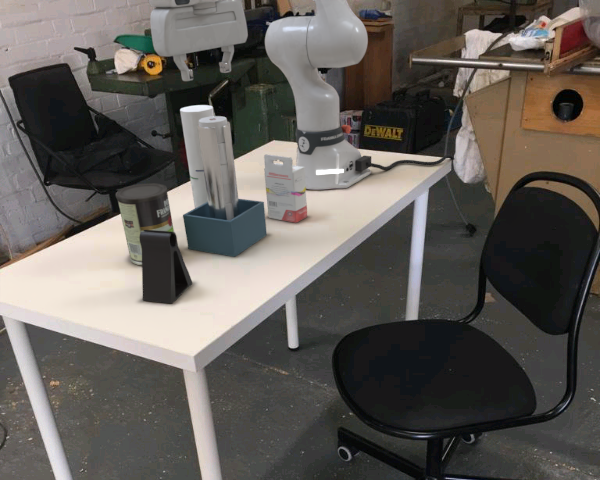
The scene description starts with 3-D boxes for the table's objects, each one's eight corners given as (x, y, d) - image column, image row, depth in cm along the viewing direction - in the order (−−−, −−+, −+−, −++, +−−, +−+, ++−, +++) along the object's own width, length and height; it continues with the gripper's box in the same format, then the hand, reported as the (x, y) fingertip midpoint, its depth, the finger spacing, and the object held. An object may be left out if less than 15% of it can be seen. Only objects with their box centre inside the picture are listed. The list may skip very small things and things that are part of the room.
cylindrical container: (221, 225, 151) (206, 111, 136) (192, 225, 152) (175, 112, 138) (230, 215, 156) (216, 104, 142) (202, 214, 158) (186, 105, 143)
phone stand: (165, 281, 127) (154, 221, 120) (192, 283, 125) (182, 223, 118) (142, 301, 120) (129, 239, 113) (171, 304, 118) (159, 242, 111)
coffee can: (184, 247, 141) (173, 182, 133) (169, 266, 133) (156, 198, 125) (140, 246, 143) (126, 182, 135) (122, 265, 134) (107, 198, 126)
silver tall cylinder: (211, 245, 140) (194, 123, 125) (216, 234, 145) (199, 115, 130) (240, 244, 139) (226, 121, 125) (244, 233, 144) (231, 114, 130)
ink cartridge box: (308, 216, 152) (305, 152, 144) (296, 223, 149) (292, 158, 141) (279, 211, 157) (275, 149, 148) (267, 217, 154) (261, 154, 145)
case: (222, 228, 149) (217, 195, 145) (266, 235, 144) (263, 201, 140) (188, 249, 140) (182, 214, 136) (234, 256, 135) (230, 221, 131)
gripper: (228, -14, 123) (236, 66, 131) (139, -4, 111) (154, 84, 119) (250, -15, 119) (257, 68, 127) (161, -4, 107) (175, 86, 115)
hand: (207, 76), depth 123 cm, fingers open, 8 cm apart
